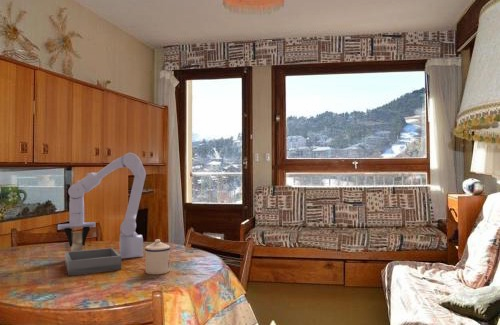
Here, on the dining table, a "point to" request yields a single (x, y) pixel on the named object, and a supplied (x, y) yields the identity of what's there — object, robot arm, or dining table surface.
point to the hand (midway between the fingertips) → (77, 245)
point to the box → (92, 261)
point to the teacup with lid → (157, 258)
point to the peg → (77, 241)
